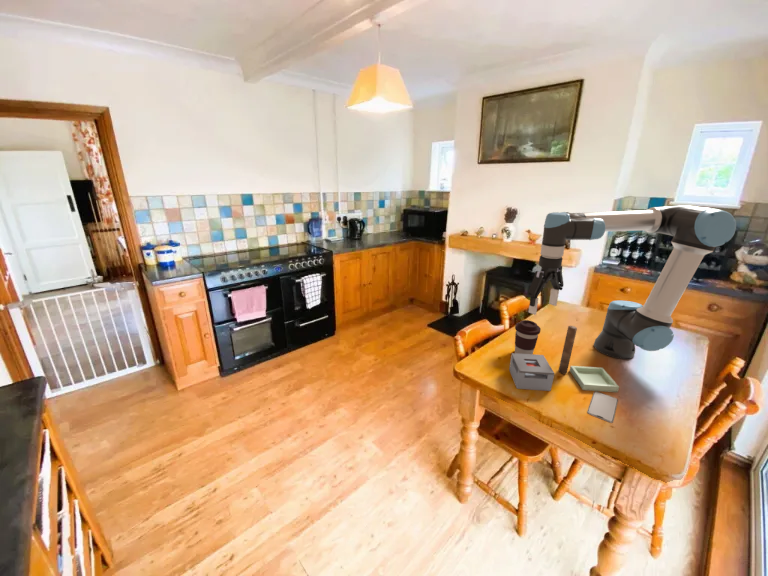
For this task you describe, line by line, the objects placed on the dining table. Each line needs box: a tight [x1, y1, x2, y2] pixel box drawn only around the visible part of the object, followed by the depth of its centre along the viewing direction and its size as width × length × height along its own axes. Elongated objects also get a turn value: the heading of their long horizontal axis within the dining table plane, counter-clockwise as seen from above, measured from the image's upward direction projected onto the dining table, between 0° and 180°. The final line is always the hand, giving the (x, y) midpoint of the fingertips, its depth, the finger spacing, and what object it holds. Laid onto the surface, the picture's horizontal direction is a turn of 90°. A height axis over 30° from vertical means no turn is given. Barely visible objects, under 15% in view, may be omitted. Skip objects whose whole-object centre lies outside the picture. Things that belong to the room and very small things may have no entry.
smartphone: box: [586, 391, 619, 424], centre depth 111 cm, size 7×1×15 cm
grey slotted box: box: [508, 352, 555, 392], centre depth 124 cm, size 12×12×8 cm
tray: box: [569, 365, 620, 393], centre depth 124 cm, size 12×12×2 cm
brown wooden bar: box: [558, 325, 578, 375], centre depth 126 cm, size 3×3×20 cm
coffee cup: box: [514, 319, 541, 354], centre depth 140 cm, size 10×10×15 cm
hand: (542, 308), depth 125 cm, fingers open, 13 cm apart
